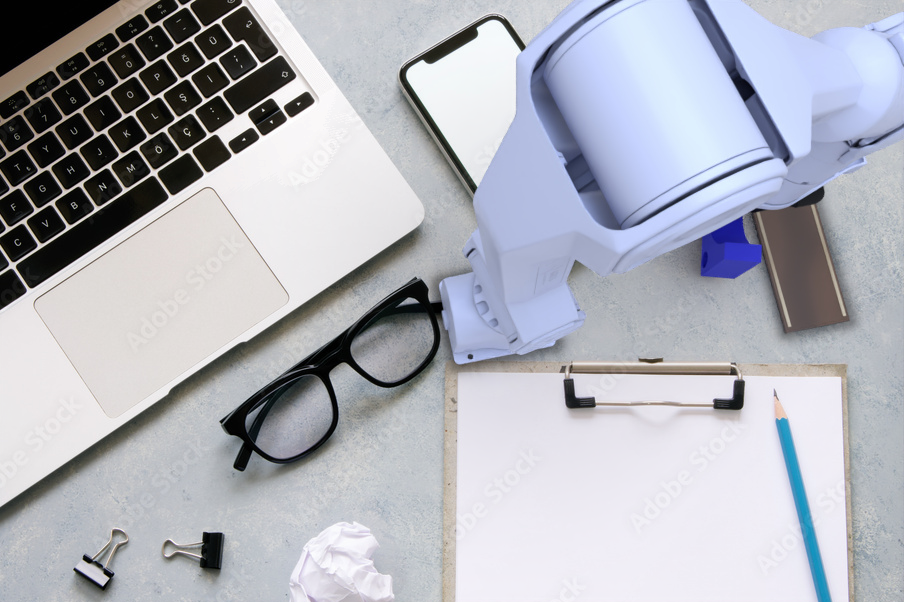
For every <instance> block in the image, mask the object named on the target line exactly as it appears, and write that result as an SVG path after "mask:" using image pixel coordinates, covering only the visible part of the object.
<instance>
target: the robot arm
mask: <svg viewBox="0 0 904 602" xmlns="http://www.w3.org/2000/svg"><path fill="white" fill-rule="evenodd" d="M903 140H904V11H900V12H897V13H894V14H892V15H890V16H887V17H885V18H883V19H881V20H878V21H876V22H874V21H871V22H870V23H868V24H865V25H863V26H862V27H857V26H849V25H848V26H846V25H845V26H836V27H831V28H828V29H824V30H822V31H819V32H818V33H816V34H814V35H812V36H810V37H808V36H805V35H802V34H799V33H797V32H794V31H792V30H789V29H787V28H784V27H782V26H780V25H777V24H774V22H771V21H770V20H768V19H767V18H766V17H764V16H762V15H761V14H760V13H759V12H757V10H755V9H753V8H752V7H751V6H750V5H748V4H747V3H746V2H745V1H743V0H572V1H571V2H570V3H568V5H566V6H565V7H564V8H562V10H561V11H560V12H559V13H557V15H556V16H555V17H554V18H553V20H552V21H550V23H548V24H547V25H546V26H544V28H543V29H541V30H540V31H539V32H538V33H537V34H536V35H535V36H534V37H533V38H532V39H531V40H530V41H529V42H528V44H526V46H525V48H524V49H523V50H522V51H521V52H520V53H519V54H518V55H517V56H516V59H515V113H514V117H513V119H512V121H511V123H510V125H509V127H508V129H507V130H506V132H505V134H504V136H503V139H502V140H501V143H500V144H499V146H498V148H497V150H496V152H495V153H494V155H493V157H492V159H491V161H490V163H489V165H488V167H487V169H486V171H485V172H484V175H483V176H482V179H481V180H480V182H479V184H478V186H477V188H476V189H475V192H474V194H473V199H472V205H473V211H474V215H475V219H476V223H477V227H476V228H475V230H473V231H472V232H471V233H470V236H469V237H468V239H467V240H466V242H465V245H464V247H463V249H462V254H463V257H464V259H467V260H468V263H469V264H470V266H471V269H472V271H471V272H467V273H463V274H459V275H454V276H449V277H445V278H444V279H442V280H441V281H440V282H439V283H438V289H439V294H440V298H441V303H442V308H443V309H442V310H441V317H442V322H443V327H444V330H445V331H447V332H448V337H449V342H450V347H451V352H452V357H453V360H454V363H455V364H456V365H466V364H469V363H475V362H480V361H485V360H491V359H497V358H499V357H506V356H510V355H515V354H517V355H520V356H522V355H526V354H529V353H530V352H533V351H536V350H541V349H545V348H550V347H553V346H554V345H555V344H556V341H557V340H560V339H562V338H564V337H566V336H568V335H570V334H572V333H574V332H576V331H577V330H579V329H581V328H583V326H584V324H585V320H586V319H587V317H588V316H587V314H586V311H585V310H581V307H580V305H579V302H578V300H577V299H576V297H575V295H574V293H573V290H572V289H571V287H570V284H569V282H568V281H567V280H568V278H569V277H570V273H571V271H572V269H573V266H574V264H575V261H577V262H579V263H580V264H581V265H583V266H585V267H586V268H587V269H590V271H592V272H594V273H595V274H596V275H598V276H600V277H601V278H606V277H608V276H611V275H612V274H617V275H622V274H625V273H628V272H629V271H631V270H634V269H636V268H638V267H640V266H642V265H644V264H645V263H648V262H650V261H651V260H653V259H655V258H658V257H659V256H661V255H663V254H666V253H669V252H672V251H673V250H677V249H679V248H680V247H684V246H686V245H688V244H690V243H692V242H695V241H696V240H698V239H701V238H702V237H703V236H705V235H707V234H709V233H711V232H713V231H715V230H717V229H719V228H721V227H723V226H725V225H726V224H728V223H730V222H732V221H734V220H737V219H740V217H741V216H743V217H744V216H745V215H747V214H749V213H750V214H752V213H756V212H761V211H765V210H778V209H783V208H786V207H789V206H790V207H794V208H798V207H803V206H809V205H814V204H816V205H817V204H818V203H819V202H821V201H822V200H823V199H824V197H825V193H826V192H825V191H826V190H825V187H824V186H825V185H827V184H828V183H830V182H832V181H833V180H835V179H836V178H839V177H841V176H842V175H848V174H853V173H855V172H856V171H858V170H860V169H862V168H863V167H865V166H866V165H868V161H867V158H866V157H867V156H869V155H871V154H873V153H876V152H878V151H881V150H883V149H886V148H888V147H890V146H893V145H895V144H896V143H899V142H901V141H903ZM469 355H471V356H472V358H471V359H470V358H468V356H469Z"/></svg>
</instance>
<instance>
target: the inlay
mask: <svg viewBox="0 0 904 602" xmlns="http://www.w3.org/2000/svg"><path fill="white" fill-rule="evenodd" d="M817 205H818V204H817V203H816V204H814V205H809V206H803V207H798V208H794V207H790V206H789V207H786V208H783V209H778V210H765V211H761V212H756V213H751V214H752V218H753V222H754V225H755V226H754V227H755V229H756V232H757V237H758V241H759V243H760V244H759V245H762V254H763V258H764V262H765V265H766V269H767V272H768V275H769V279H770V283H771V287H772V291H773V294H774V298H775V302H776V304H777V308H778V312H779V314H780V319H781V323H782V327H783V330H784V333H785V334H789V333H790V334H791V333H794V332H795V333H796V332H799V331H804V330H809V329H815V328H820V327H825V326H829V325H833V324H834V325H835V324H841V323H844V322H850V320H851V319H850V316H849V312H848V309H847V305H846V301H845V299H844V295H843V291H842V288H841V285H840V281H839V277H838V275H837V271H836V267H835V263H834V261H833V258H832V254H831V250H830V246H829V244H828V239H827V236H826V234H825V231H824V226H823V223H822V220H821V216H820V213H819V209H818V206H817Z"/></svg>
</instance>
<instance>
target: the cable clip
mask: <svg viewBox="0 0 904 602" xmlns="http://www.w3.org/2000/svg"><path fill="white" fill-rule="evenodd" d="M762 254H763V251H762V245H761V244H756V243H755V244H754V243H750V242H749V241H748V238H747V236H746V233H745V228H744V215H743V216H741V217H740V219H737V220H734V221H732V222H730V223H728V224H726V225H725V226H723V227H721V228H719V229H717V230H715V231H713V232H711V233H709V234H707V235H705V236H703V237H701V257H700V277H707V278H720V279H731V280H735V279H736V278H738V277H740V276H742V275H743V274H745V273H746V272H748V271H750V270H751V269H753V268H755V267H756V266H758V265H760V264H761V263H762V256H763V255H762Z"/></svg>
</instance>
